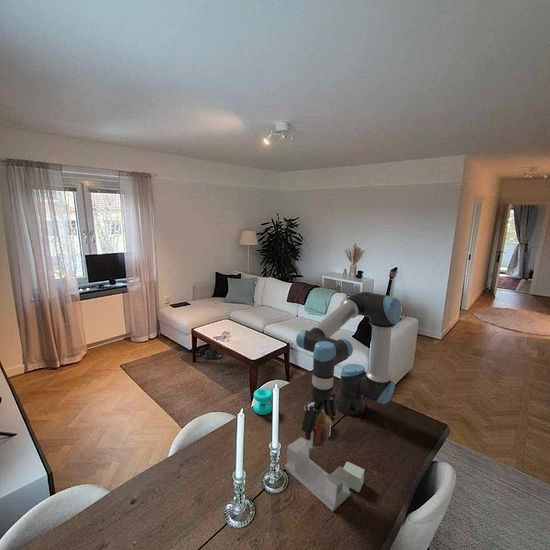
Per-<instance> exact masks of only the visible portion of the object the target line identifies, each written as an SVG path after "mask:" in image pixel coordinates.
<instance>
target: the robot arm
mask: <svg viewBox="0 0 550 550" xmlns="http://www.w3.org/2000/svg"><path fill="white" fill-rule="evenodd" d="M401 305H402V304H401V302H400V301H399V299H398V298H396V297H395V296H390V295H384V294H380V293H374V292H370V291H361V292H355V293H354V294H351V295H349V296H347V297H345V299H343V300H342V301H341V302H340V305H339V306H338V307H337V308H335V309H334V310H333V311H332V312H331V313H330V314H328V315H327V316H325V317H324V319H322V320H321V321H320V322H319V323H317V324H316V325H314V326H313V327H312V328H311V329H310V330H307V329H301V330H300V331H298V332H297V334H296V337H295V341H296V342H295V343H296V346H298V347H299V348H300V349H302V350H305V351H307V352H310V353H313V356H312V357H313V358H312V359H313V360H312V377H311V378H312V379H311V389H310V391H311V392H310V393H311V395H312V400H311V402H310V403H311V404H308V403H309V402H307V403H306V404H305V405H306V412H304V416H303V420H302V425H301V431H303V433H305V437H304V439H305V440H306V446H308V447H309V450H312V449H313V448H314V447H313V446H314V445H313V434H314V432H313V431H312V430H313V428H314V425H315V422H316V420H317V417H318V415H319V414H320V412H321V410H322V409H324V412H325V414H327V415H329V416H331V421H330V424H329V427H328V438H330V437H331V429H332V424H333V422H334V421H335V419H336V418H335V417H336V416H337V410H338V411H340V413H342V414H343V415H348V416H360V415H362V414H363V413H364V412H365V407H366V405H365V402H364V398H368V399H370V400H372V401H374V402H376V403H378V404H381V405H386V404H388V403H389V402H390V400H391V399H392V396H393V394H394V392H395V389H396V383H395V382H394V381H393V380H392V376H391V374H390V372H389V365H390V364H389V363H390V362H389V361H390V349H391V337H392V328H394V327H395V326H396V325H397V324H398V323H399V322H400V320H401V316H402V306H401ZM357 316H362V317H363V316H364V317H366V318H369V319H368V323H369V324H370V326H371V339H370V353H369V354H370V356H369V357H370V358H369V369H368V370H367V371H366V368H365V367H364V366H363V364H362V365H361V364H360V363H359V364H358V363H348V364H345V365H343V366H342V368H341V371H340V383H339V392H338V394H337V396H336V393H333V390H334V389H333V388H334V387H333V386H334V378H335V377H334V376H335V375H334V374H335V366H336V367H337V365H339V364H340V363H342V362H344V361H346V360H348V358H349V357H350V356H352V354H353V352H354V348H353V344H352V343H351V342H350V341H349V340H348V339H346V338H339V339H334V338H331V337H332V336H333V335H334V334H335V333H337V332H338V331H339V330H340V329H342V327H343V326H344V325H346V323H348V322H349V321H350V320H351V319H354V318H356V317H357ZM391 380H392V381H391ZM314 408H315V409H316V410H318V411H316V410H315V409H314Z"/></svg>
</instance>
